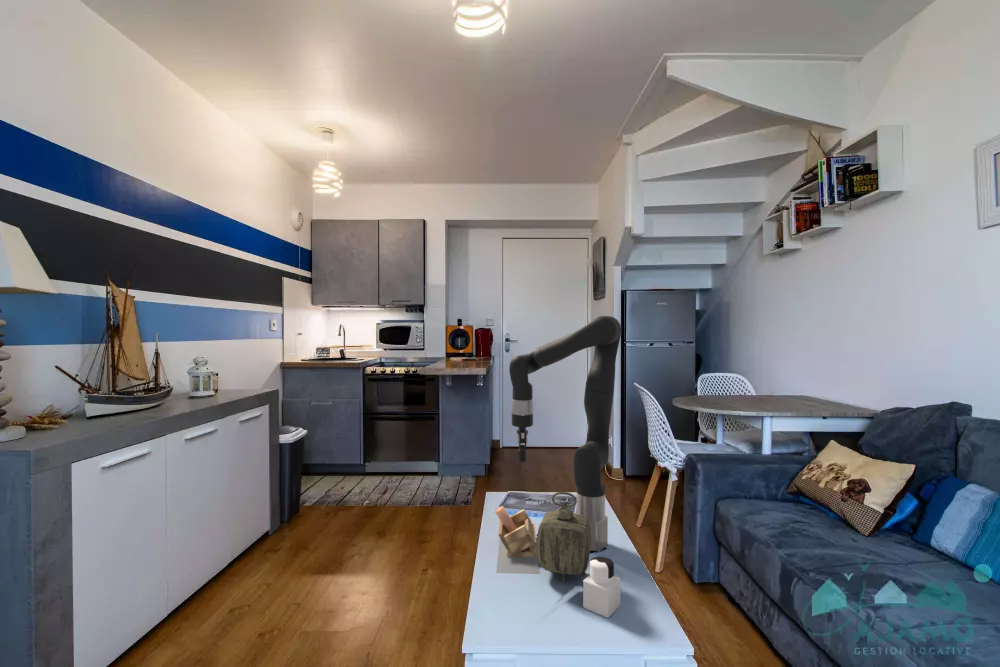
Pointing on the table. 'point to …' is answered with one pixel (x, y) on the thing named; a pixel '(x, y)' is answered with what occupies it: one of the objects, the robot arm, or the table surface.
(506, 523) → the peg
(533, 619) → the table surface
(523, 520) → the socket
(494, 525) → the table surface
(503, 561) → the board
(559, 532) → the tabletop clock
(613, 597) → the white blocky bust
